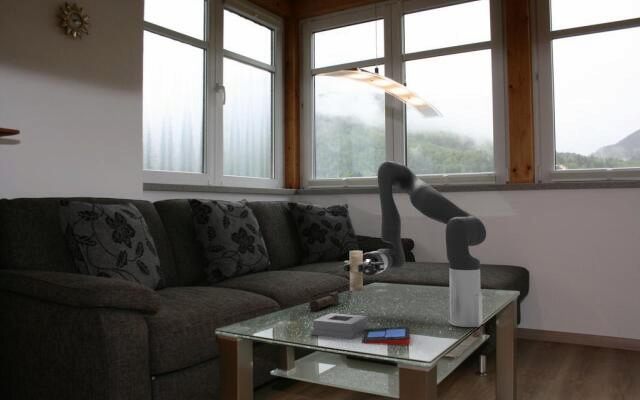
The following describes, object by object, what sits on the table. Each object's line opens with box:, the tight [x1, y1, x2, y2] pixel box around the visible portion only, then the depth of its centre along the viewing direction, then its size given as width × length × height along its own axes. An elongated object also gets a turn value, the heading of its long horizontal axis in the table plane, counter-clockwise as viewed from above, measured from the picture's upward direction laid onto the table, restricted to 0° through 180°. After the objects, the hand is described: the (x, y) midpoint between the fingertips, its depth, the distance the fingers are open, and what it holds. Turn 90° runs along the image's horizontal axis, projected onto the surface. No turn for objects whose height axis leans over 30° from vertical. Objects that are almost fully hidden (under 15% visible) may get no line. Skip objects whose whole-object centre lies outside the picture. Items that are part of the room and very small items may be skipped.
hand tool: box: [309, 291, 340, 312], centre depth 195 cm, size 19×4×5 cm, turn 148°
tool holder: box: [310, 312, 371, 340], centre depth 154 cm, size 13×13×4 cm
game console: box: [361, 326, 410, 346], centre depth 146 cm, size 14×13×2 cm
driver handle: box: [349, 250, 364, 292], centre depth 162 cm, size 4×4×12 cm
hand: (352, 268), depth 160 cm, fingers closed on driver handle, 4 cm apart
